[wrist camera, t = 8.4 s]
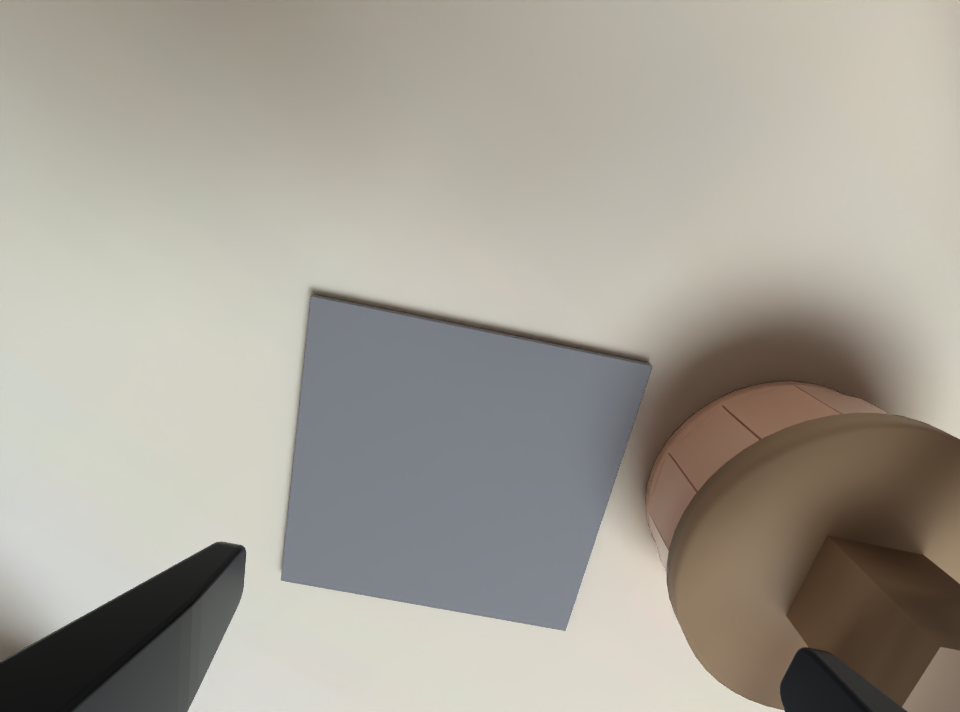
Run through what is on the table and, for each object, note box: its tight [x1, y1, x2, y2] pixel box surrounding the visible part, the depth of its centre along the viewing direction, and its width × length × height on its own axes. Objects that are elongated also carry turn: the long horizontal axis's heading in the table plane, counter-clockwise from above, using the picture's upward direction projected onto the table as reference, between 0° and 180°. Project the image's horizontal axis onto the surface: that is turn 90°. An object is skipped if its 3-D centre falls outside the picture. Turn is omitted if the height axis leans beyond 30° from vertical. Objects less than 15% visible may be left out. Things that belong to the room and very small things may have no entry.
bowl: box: [646, 382, 891, 572], centre depth 19 cm, size 10×10×4 cm
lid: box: [667, 413, 960, 712], centre depth 14 cm, size 11×11×5 cm
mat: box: [281, 294, 652, 631], centre depth 21 cm, size 13×13×1 cm
